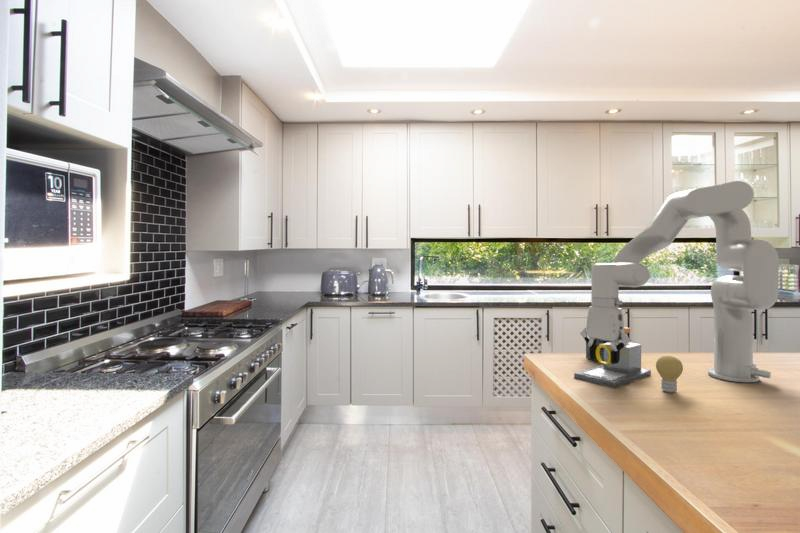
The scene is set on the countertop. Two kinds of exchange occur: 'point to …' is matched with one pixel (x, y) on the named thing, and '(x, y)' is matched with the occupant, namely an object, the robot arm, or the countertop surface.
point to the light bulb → (669, 372)
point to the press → (617, 368)
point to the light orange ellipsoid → (627, 330)
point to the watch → (599, 353)
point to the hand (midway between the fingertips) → (604, 360)
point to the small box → (597, 346)
